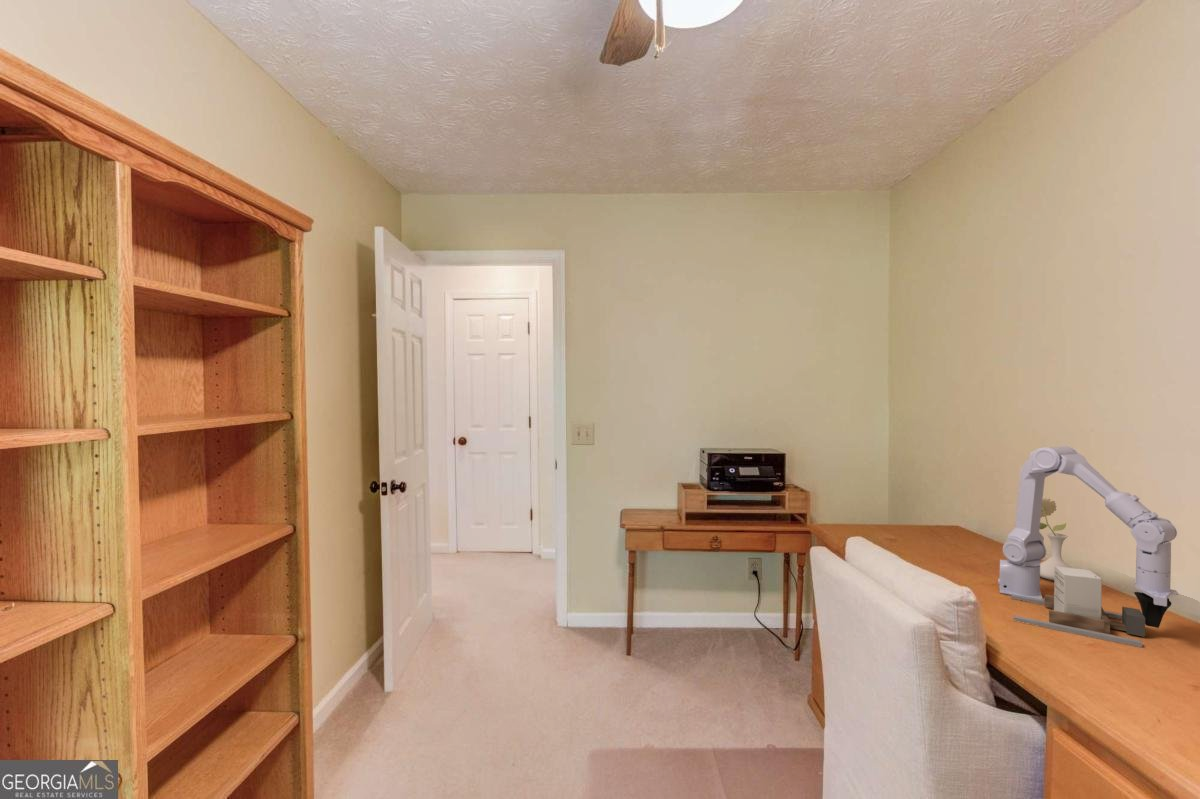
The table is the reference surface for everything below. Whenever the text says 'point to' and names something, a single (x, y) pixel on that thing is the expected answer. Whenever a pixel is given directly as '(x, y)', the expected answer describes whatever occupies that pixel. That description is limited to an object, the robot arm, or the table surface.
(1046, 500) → the flower in vase
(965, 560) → the table surface
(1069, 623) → the bench vise
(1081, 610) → the supplement box
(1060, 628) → the guide rails
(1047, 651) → the table surface
